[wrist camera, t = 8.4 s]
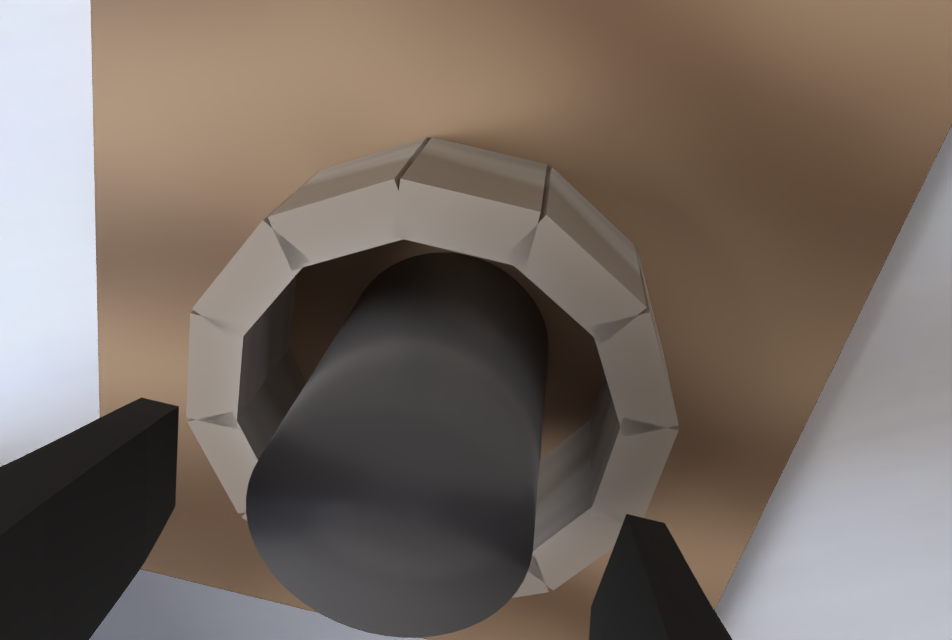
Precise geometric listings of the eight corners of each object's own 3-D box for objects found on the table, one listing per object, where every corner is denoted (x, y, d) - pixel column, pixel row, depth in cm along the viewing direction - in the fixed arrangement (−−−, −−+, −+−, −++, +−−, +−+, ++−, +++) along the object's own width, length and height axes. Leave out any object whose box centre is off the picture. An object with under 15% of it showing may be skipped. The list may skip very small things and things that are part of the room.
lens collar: (667, 668, 22) (685, 809, 18) (121, 535, 22) (34, 649, 18) (984, -5, 14) (1129, 12, 10) (117, -205, 14) (-42, -259, 10)
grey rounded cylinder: (523, 448, 18) (499, 664, 12) (339, 405, 18) (237, 600, 13) (570, 279, 16) (565, 449, 11) (364, 231, 16) (255, 376, 11)
